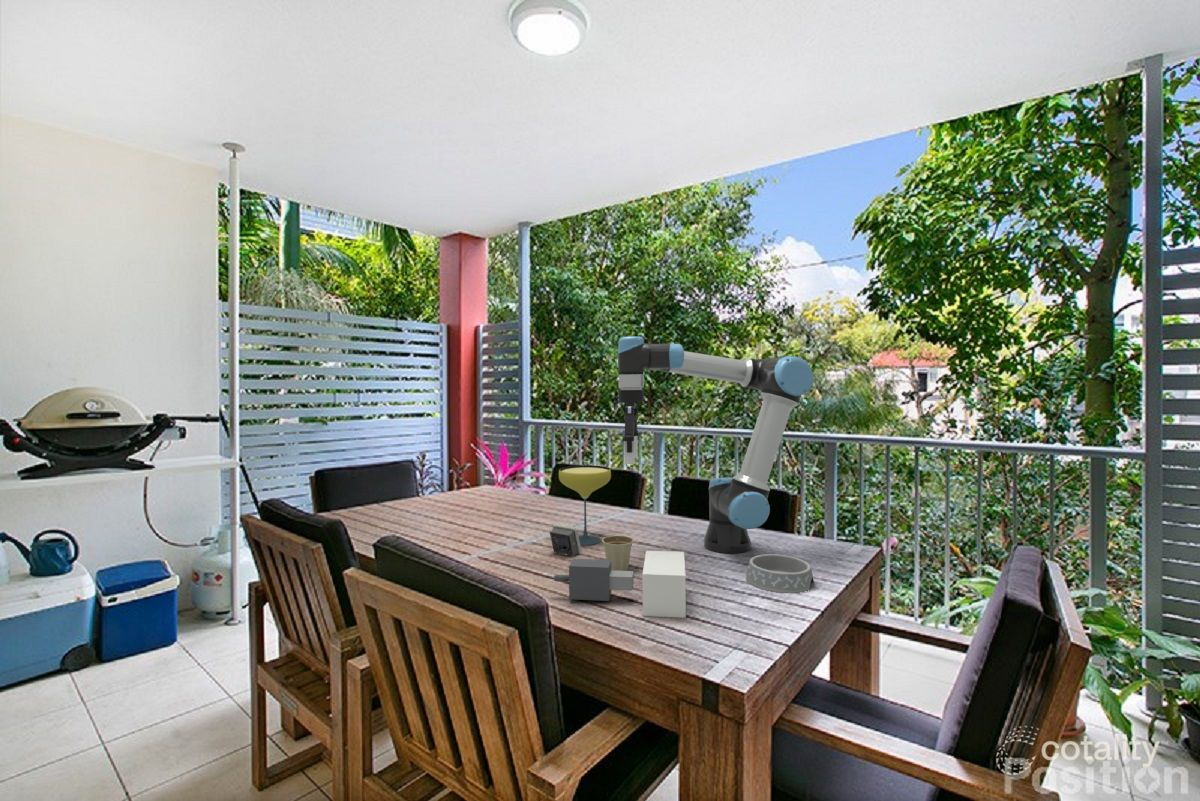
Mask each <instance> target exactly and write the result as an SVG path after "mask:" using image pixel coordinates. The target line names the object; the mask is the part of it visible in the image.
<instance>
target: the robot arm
mask: <svg viewBox="0 0 1200 801" xmlns="http://www.w3.org/2000/svg"><path fill="white" fill-rule="evenodd" d="M617 345H618V347H617V360H618V361H617V366H618V368H617V369H618V377H617V378H615V379H616V380H615V381H616V382H618V388H619V390H618V391H617V392H618V396H617V398H618V402H619V403H621V404H623V403H625V404H626V406H625V407H624V409H623V414H624V436H623V437H622V439H621V440H622V442H624V464H625V465H635V459H636V458H638V457H639V456H638V455H639V454H638V451H639V450H638V448H639V447H638V446H639V445H638V437H640V436H641V434H640V432H639V430H638V415H639V408H638V405H637V403H639V404H641V403H643V402H644V401H645V399H644V398H645V394H644V393H645V390H643V388H644V387H645V376H644V374H645V373H644V370H648V371H657V372H658V371H659V372H664V373H673V374H680V375H685V376H691V377H696V378H697V377H698V378H704V379H705V378H706V379H711V380H716V381H717V380H719V381H724V382H730V383H731V382H732V383H737V384H740V385H741V387H743V388H748V389H754V390H757V391H760V396H761V397H762V400H763V401H762V404H761V408H760V409H759V412H758V416H757V419H756V421H755V422H756V423H755V425H754V428H753V431H752V434H751V437H750V441H749V443H748V446H747V450H746V452H745V456H744V458H743V462H742V465H741V468H740V471H739V473H738V474H735V476H733V477H715V478H711V479H710V480H709V486H708V494H709V495H708V497H709V498H708V499H709V500H708V506H709V508H708V509H709V510H708V512H709V513H708V514H709V520H708V521H709V522H708V526H707V529H706V532H705V535H704V538H703V546H704V547H705V548H706V549H707V550H710V551H712V552H716V553H724V554H739V553H744V552H745V553H746V552H748V551H750V550H751V547H752V546H751V545H752V544H751V542H752V541H751V539H750V535H749V532H748V530H753V529H757V528H759V527H761V526H762V525H763V524H765V523H766V521H767V520H768V517H770V516H769V515H770V512H771V511H770V510H771V508H770V504H769V503H770V502H769V501H768V498H769V494H770V491H771V488H770V487H769V485H768V480H769V477H770V474H771V472H772V468H773V465H774V463H775V460H776V456H777V453H778V450H779V447H780V444H781V442H782V439H783V436H784V432H785V430H786V426H787V423H788V421H789V417H790V414H791V411H792V409H793V408H796V407H797V406H799V403H800V401H801V398H802V396H803V395H804V394H806V393H807V392H808V391H809V390H810V389H811V388H812V386H813V382H814V373H813V369H812V368H811V366H810V364H809V363H808V362H807V361H806V360H805V359H803V358H801V357H800V356H792V355H787V356H783V357H781V356H779V357H771V358H750V357H746V358H745V359H744V360H743V359H737V358H736V359H735V358H731V357H724V356H717V355H711V354H705V353H700V352H699V353H698V352H692V351H687V350H684V347H683V346H682V345H681V344H680V343H672V342H670V343H646V342H645V341H644V338H643V337H642V336H623V337H620V338H619V339H618V344H617Z"/></svg>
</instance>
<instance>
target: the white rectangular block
mask: <svg viewBox="0 0 1200 801" xmlns="http://www.w3.org/2000/svg"><path fill="white" fill-rule="evenodd" d="M686 590H687V589H686V563H685V552H684V551H671V550H670V551H669V550H646V551H645V556H644V563H643V569H642V616H643V617H658V618H659V617H660V618H676V619H677V618H678V619H680V618H681V619H686V616H687V615H686V614H687V613H686V611H687V609H686V604H687V603H686V600H687V599H686V594H687V593H686Z"/></svg>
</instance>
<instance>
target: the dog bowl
mask: <svg viewBox="0 0 1200 801" xmlns="http://www.w3.org/2000/svg"><path fill="white" fill-rule="evenodd" d="M745 581H746V583H747V584H749V585H750V584H751V585H750V586H752V587H754V588H756V589H758V588H759V590H762V591H764V590H765V592H769V591H770V592H769V593H774V592H775V594H783V593H795V594H801V593H800V592H803V593H806V592H805V591H807V592H809V591H808V590H811V583H815V581H814V574H813V571H812V566H811V565H810V564H809V562H808V561H805V560H803V559H801V558H798V557H796V556H792V555H791V556H790V555H787V554H779V553H775V554H774V553H773V554H772V553H771V554H770V553H768V554H767V553H766V554H759V555H755V556H753V557H751V558H750V559H749V560H748V566H747V569H746V576H745Z"/></svg>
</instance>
